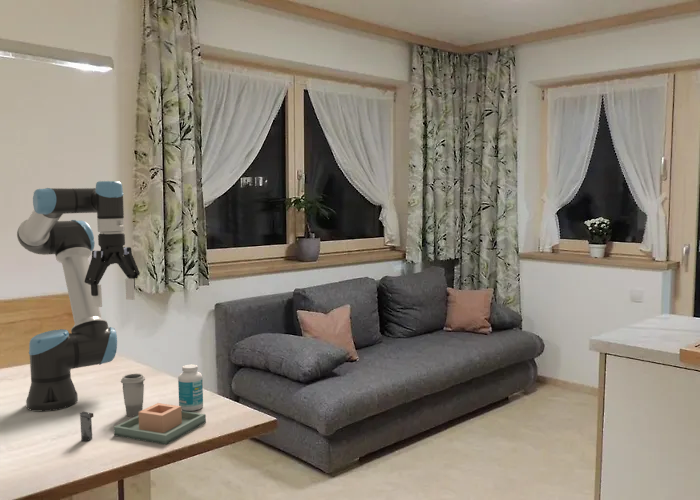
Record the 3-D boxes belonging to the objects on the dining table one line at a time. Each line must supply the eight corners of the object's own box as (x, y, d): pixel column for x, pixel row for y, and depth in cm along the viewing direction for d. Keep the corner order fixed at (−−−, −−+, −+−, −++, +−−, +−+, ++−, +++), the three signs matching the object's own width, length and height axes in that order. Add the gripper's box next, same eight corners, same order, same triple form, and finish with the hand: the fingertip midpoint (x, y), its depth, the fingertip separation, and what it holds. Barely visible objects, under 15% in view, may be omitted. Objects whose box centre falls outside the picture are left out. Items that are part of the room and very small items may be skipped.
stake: (79, 440, 176) (77, 414, 175) (86, 436, 179) (85, 410, 178) (89, 442, 175) (87, 415, 174) (96, 438, 177) (95, 412, 176)
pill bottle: (197, 412, 197) (195, 369, 196) (174, 411, 199) (173, 368, 198) (207, 404, 205) (205, 363, 203) (185, 403, 206) (184, 362, 205)
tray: (114, 435, 179) (113, 426, 179) (157, 414, 196) (156, 406, 196) (165, 444, 172) (165, 435, 172) (205, 422, 189) (205, 414, 189)
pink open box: (162, 433, 179) (162, 415, 178) (134, 428, 182) (133, 411, 182) (181, 423, 186) (181, 406, 186) (154, 418, 190) (153, 402, 190)
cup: (123, 419, 192) (122, 380, 191) (120, 412, 198) (119, 375, 197) (148, 415, 195) (146, 377, 194) (144, 409, 201) (142, 371, 200)
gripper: (88, 235, 179) (92, 310, 181) (149, 230, 201) (152, 297, 203) (68, 235, 182) (72, 309, 183) (130, 230, 204) (133, 295, 206)
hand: (114, 303), depth 193 cm, fingers open, 13 cm apart
